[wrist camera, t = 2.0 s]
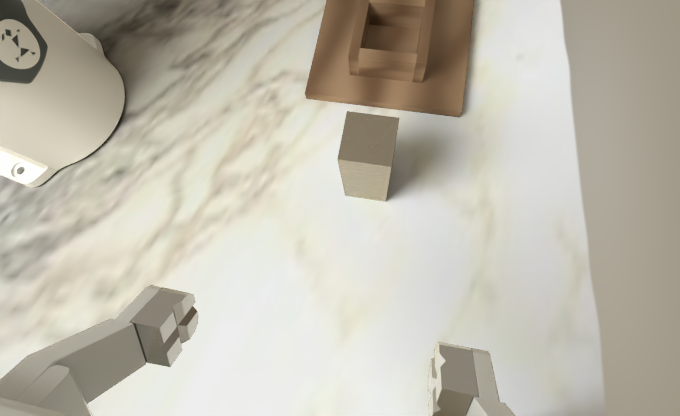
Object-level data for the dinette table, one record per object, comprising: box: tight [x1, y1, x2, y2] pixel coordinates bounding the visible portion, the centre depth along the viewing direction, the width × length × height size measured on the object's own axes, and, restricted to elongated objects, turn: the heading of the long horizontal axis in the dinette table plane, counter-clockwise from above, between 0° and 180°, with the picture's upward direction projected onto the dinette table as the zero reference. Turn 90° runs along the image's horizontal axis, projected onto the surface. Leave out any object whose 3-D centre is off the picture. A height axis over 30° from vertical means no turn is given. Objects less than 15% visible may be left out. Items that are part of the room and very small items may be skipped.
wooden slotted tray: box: [305, 0, 474, 117], centre depth 38 cm, size 16×20×4 cm
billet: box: [338, 111, 399, 202], centre depth 31 cm, size 4×4×9 cm
